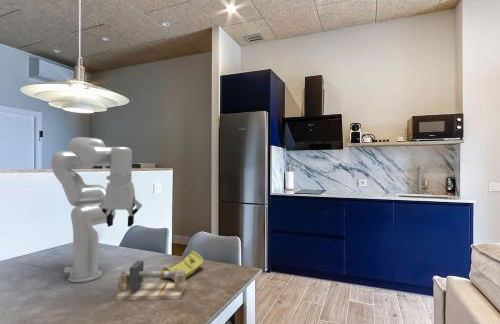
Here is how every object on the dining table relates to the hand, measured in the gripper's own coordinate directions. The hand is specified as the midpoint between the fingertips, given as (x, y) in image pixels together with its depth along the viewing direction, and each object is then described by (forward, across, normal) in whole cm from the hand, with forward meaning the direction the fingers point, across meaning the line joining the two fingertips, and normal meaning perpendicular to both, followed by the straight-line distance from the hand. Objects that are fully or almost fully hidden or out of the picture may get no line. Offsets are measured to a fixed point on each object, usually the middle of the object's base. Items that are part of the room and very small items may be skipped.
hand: (120, 225), depth 110 cm
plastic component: (+26, +21, +20) cm, 39 cm away
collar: (+23, +7, 0) cm, 24 cm away
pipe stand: (+26, +12, 0) cm, 29 cm away
